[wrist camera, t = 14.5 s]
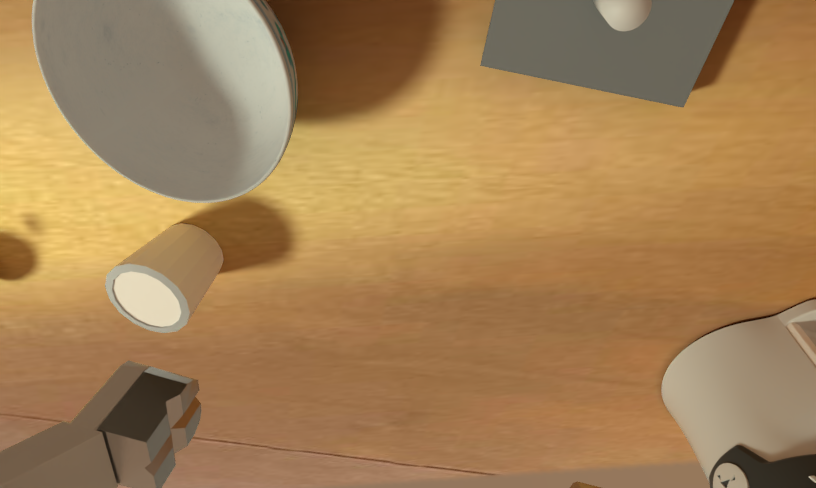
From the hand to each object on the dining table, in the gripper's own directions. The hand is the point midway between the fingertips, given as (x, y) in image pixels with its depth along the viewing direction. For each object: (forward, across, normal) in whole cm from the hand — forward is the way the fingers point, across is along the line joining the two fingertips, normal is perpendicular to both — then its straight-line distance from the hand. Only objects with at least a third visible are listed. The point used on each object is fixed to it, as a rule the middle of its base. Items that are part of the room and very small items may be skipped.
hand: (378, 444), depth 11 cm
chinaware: (+27, +17, +2) cm, 32 cm away
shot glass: (+27, +21, +20) cm, 39 cm away
